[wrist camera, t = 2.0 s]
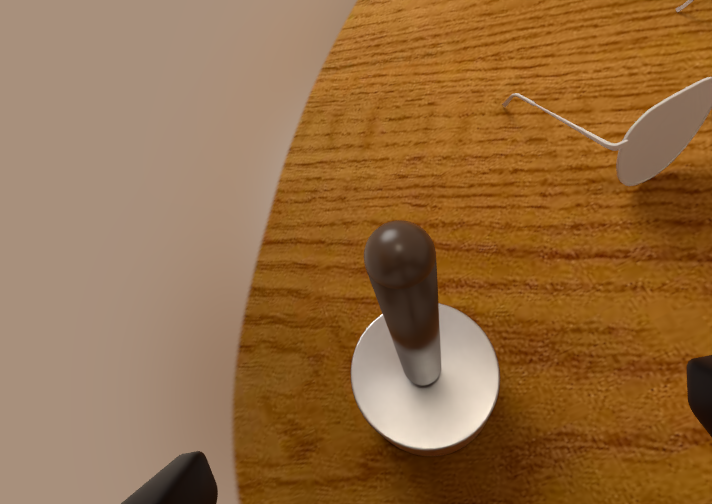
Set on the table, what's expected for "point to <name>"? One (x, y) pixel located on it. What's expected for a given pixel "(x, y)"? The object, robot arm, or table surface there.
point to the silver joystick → (420, 352)
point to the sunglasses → (654, 131)
